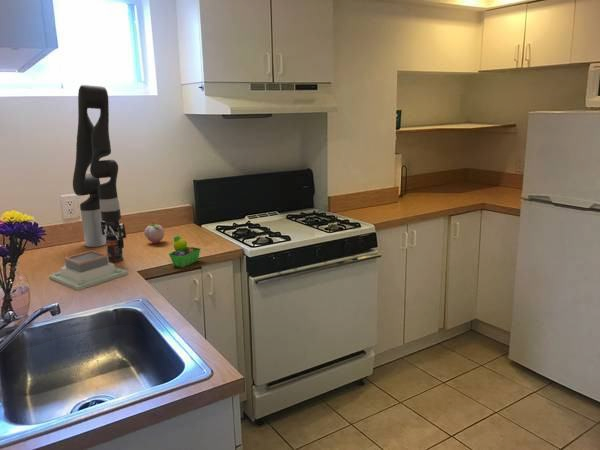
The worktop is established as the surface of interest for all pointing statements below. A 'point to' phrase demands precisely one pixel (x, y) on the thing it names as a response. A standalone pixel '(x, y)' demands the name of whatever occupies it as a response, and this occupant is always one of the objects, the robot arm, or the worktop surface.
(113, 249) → the supplement bottle
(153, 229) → the decorative fruit
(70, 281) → the stacked grey pedestal
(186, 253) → the fruit basket
